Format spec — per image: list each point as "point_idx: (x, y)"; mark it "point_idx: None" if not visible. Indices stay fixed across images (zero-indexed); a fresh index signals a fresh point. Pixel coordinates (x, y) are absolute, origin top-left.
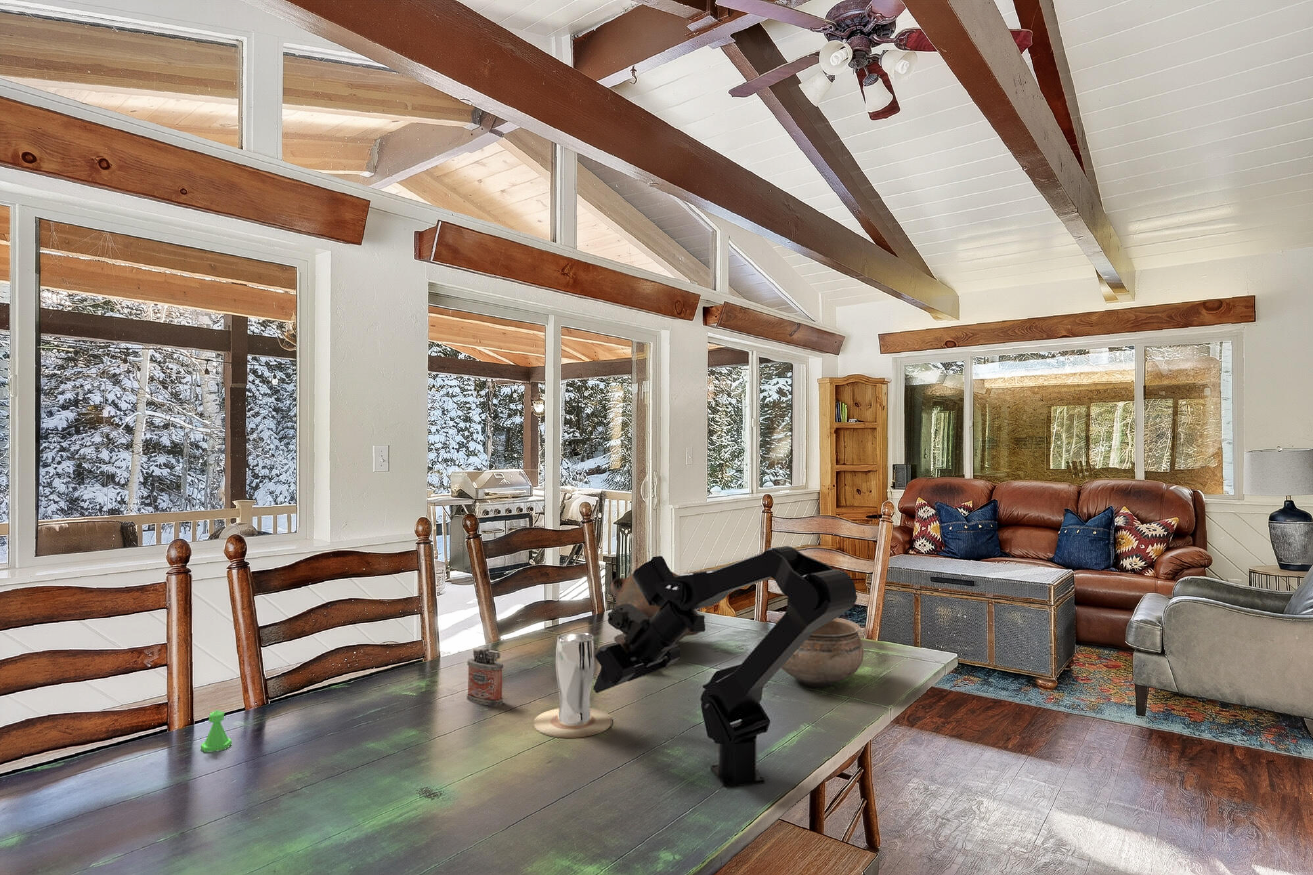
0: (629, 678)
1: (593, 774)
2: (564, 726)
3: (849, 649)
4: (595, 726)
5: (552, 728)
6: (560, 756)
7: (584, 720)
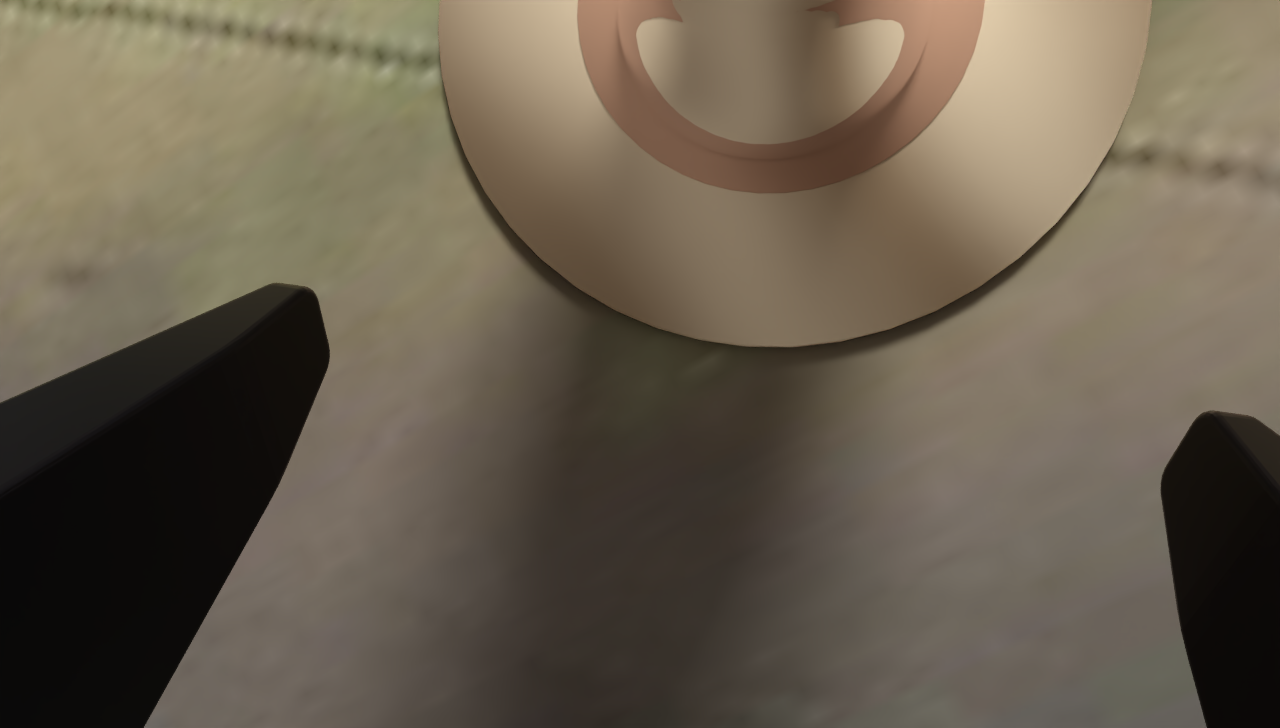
0: (1189, 513)
1: None
2: None
3: None
4: (750, 242)
5: None
6: (172, 296)
7: (713, 133)
